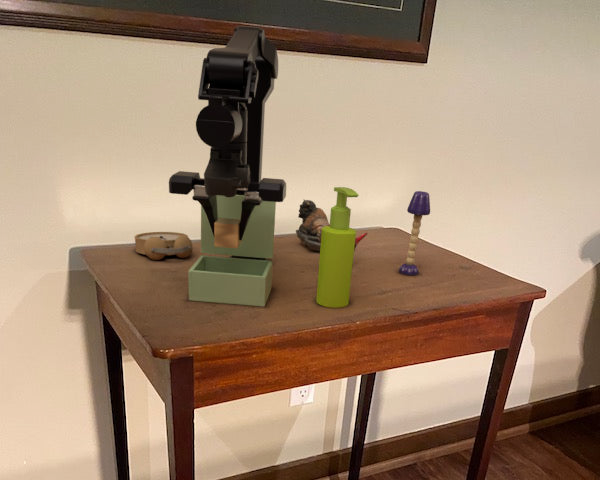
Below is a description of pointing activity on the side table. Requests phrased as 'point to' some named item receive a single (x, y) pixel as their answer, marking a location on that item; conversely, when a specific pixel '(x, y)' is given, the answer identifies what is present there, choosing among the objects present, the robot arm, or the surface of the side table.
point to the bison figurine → (311, 224)
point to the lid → (256, 234)
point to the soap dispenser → (336, 254)
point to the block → (227, 233)
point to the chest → (230, 280)
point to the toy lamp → (415, 229)
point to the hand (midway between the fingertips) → (228, 238)
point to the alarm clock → (163, 244)
